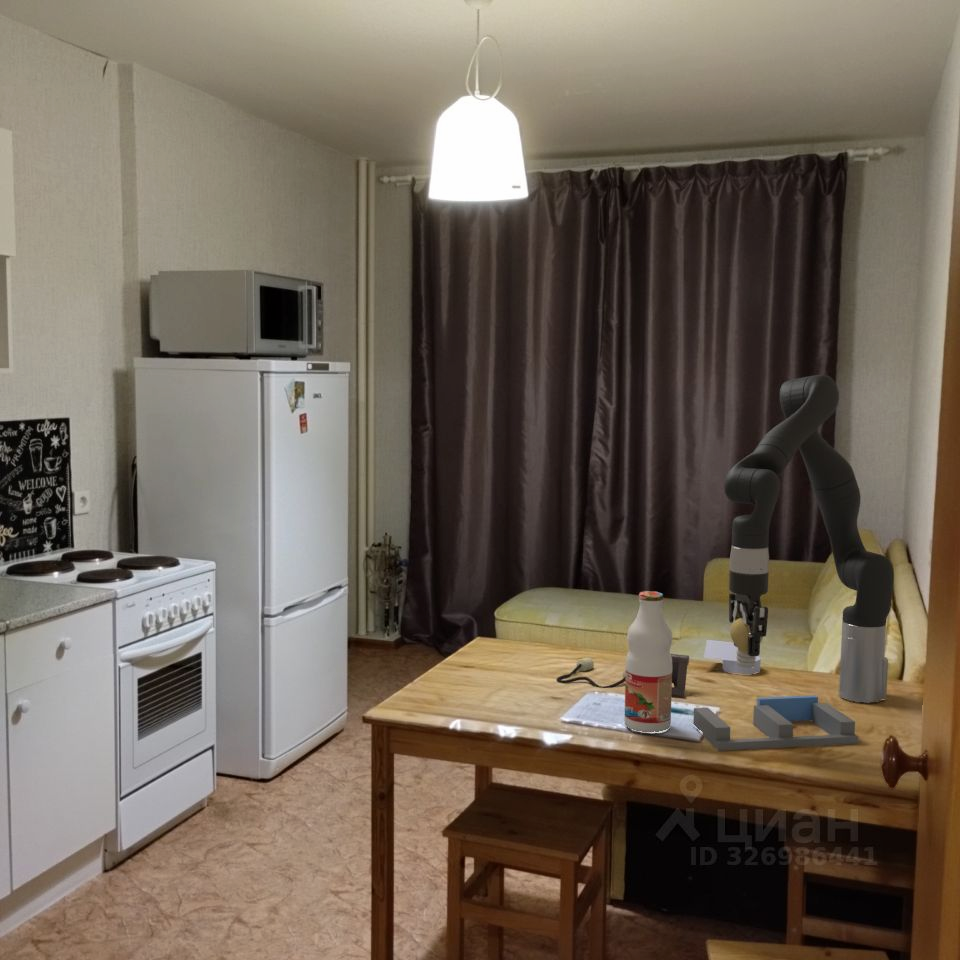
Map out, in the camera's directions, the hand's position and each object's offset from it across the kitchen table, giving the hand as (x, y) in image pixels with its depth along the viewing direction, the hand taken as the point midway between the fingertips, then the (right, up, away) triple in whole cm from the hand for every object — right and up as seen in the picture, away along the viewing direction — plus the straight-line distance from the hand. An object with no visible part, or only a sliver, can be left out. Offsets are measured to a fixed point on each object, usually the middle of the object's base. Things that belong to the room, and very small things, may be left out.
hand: (746, 650), depth 209 cm
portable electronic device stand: (-10, -14, +30) cm, 35 cm away
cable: (-25, -14, +39) cm, 48 cm away
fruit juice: (-19, -17, +6) cm, 26 cm away
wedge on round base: (+9, -13, +49) cm, 51 cm away
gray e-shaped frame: (+6, -17, +3) cm, 18 cm away
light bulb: (0, -3, 0) cm, 3 cm away
